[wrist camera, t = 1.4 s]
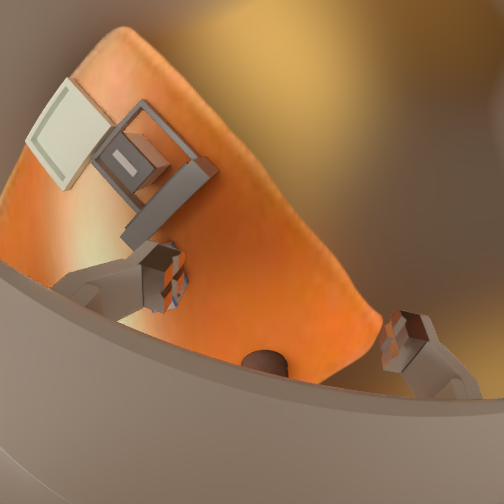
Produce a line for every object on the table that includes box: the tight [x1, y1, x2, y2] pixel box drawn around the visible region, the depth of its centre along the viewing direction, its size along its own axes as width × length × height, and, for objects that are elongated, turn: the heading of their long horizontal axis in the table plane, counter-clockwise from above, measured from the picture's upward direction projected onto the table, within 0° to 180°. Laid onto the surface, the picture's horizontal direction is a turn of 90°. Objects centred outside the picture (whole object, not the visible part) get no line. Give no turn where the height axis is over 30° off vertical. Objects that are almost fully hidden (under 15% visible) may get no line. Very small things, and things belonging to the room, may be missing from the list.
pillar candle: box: [241, 350, 289, 378], centre depth 48 cm, size 10×10×15 cm
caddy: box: [100, 132, 171, 194], centre depth 36 cm, size 5×7×8 cm, turn 42°
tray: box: [25, 77, 117, 192], centre depth 37 cm, size 14×14×2 cm
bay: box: [91, 99, 219, 251], centre depth 36 cm, size 14×17×10 cm
